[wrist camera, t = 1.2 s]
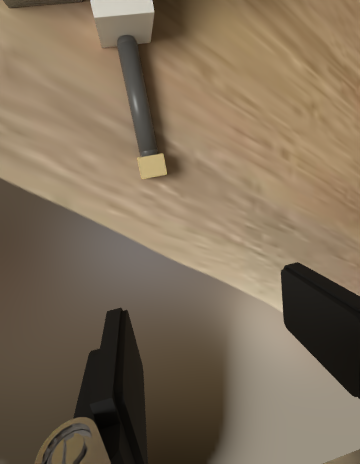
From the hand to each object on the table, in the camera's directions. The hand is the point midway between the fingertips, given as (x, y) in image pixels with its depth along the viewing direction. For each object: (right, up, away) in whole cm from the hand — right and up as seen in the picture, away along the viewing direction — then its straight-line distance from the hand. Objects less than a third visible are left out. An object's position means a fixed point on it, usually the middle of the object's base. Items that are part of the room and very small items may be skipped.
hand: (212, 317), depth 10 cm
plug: (-6, +17, +13) cm, 22 cm away
